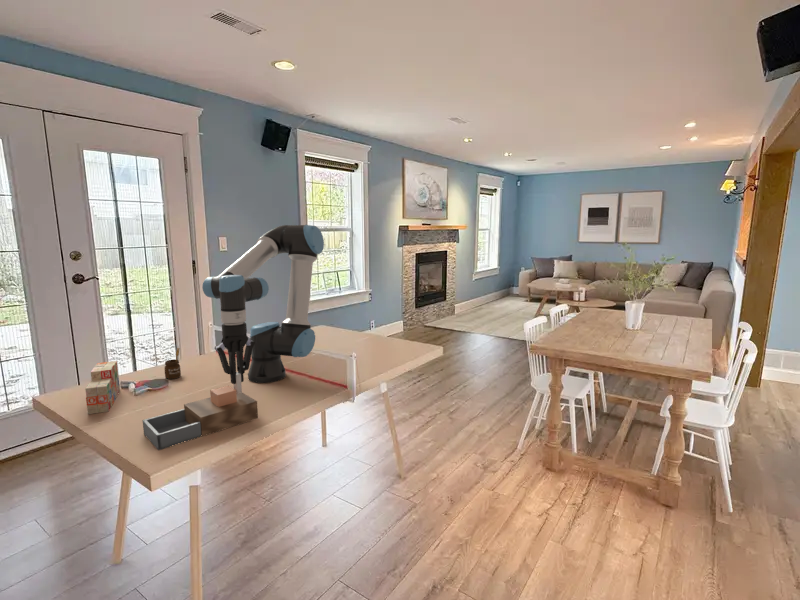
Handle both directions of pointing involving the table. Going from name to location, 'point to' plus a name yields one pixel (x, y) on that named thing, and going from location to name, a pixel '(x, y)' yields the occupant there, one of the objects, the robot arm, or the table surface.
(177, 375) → the utensil holder
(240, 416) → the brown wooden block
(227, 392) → the salmon orange block
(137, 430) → the table surface
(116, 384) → the stack of blocks
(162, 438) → the box
